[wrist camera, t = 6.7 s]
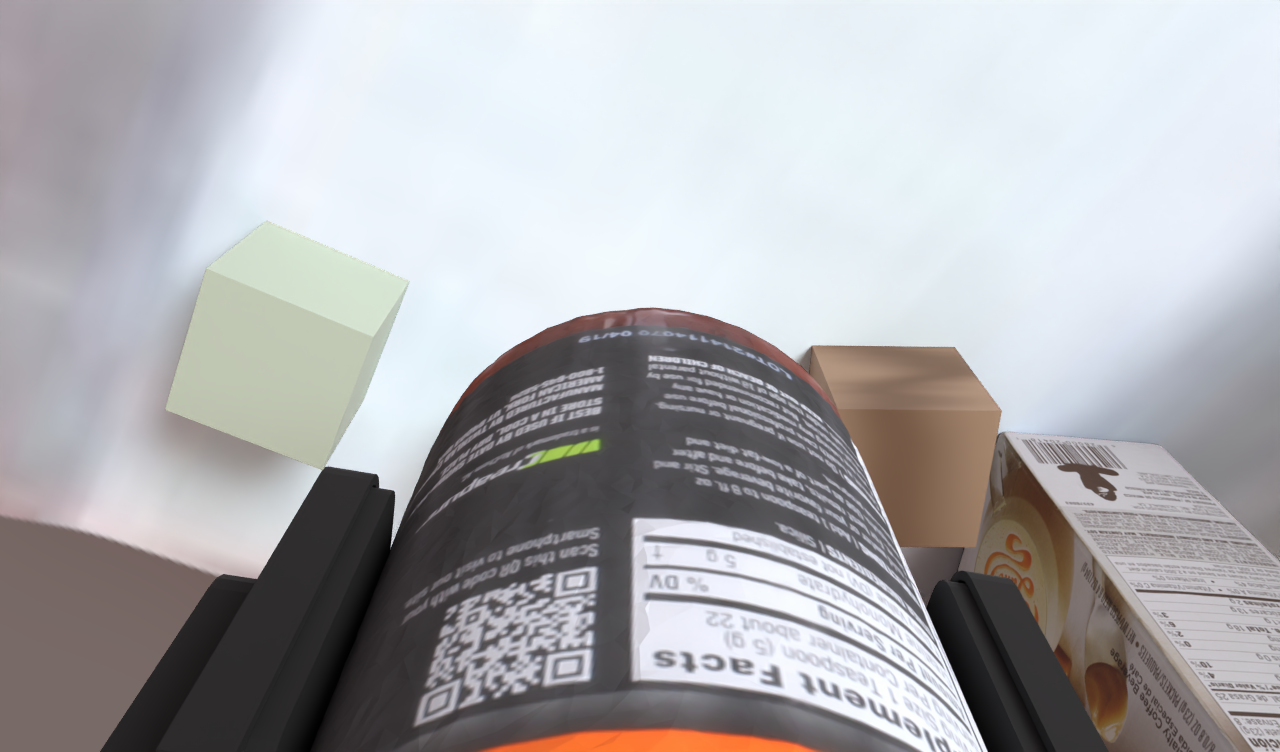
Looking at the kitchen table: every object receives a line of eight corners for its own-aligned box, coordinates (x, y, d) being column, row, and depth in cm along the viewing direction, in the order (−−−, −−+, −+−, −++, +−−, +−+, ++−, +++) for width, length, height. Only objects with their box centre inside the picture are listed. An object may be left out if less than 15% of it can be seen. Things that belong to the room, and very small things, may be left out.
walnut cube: (953, 346, 34) (1001, 411, 30) (934, 469, 36) (976, 547, 32) (811, 344, 34) (837, 408, 30) (800, 468, 36) (823, 545, 32)
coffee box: (1092, 637, 40) (1355, 1053, 25) (937, 624, 39) (1112, 1036, 25) (1166, 438, 36) (1529, 793, 21) (994, 423, 35) (1242, 771, 21)
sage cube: (410, 280, 33) (373, 337, 29) (363, 399, 35) (322, 470, 31) (267, 219, 32) (206, 268, 28) (228, 345, 34) (164, 409, 30)
